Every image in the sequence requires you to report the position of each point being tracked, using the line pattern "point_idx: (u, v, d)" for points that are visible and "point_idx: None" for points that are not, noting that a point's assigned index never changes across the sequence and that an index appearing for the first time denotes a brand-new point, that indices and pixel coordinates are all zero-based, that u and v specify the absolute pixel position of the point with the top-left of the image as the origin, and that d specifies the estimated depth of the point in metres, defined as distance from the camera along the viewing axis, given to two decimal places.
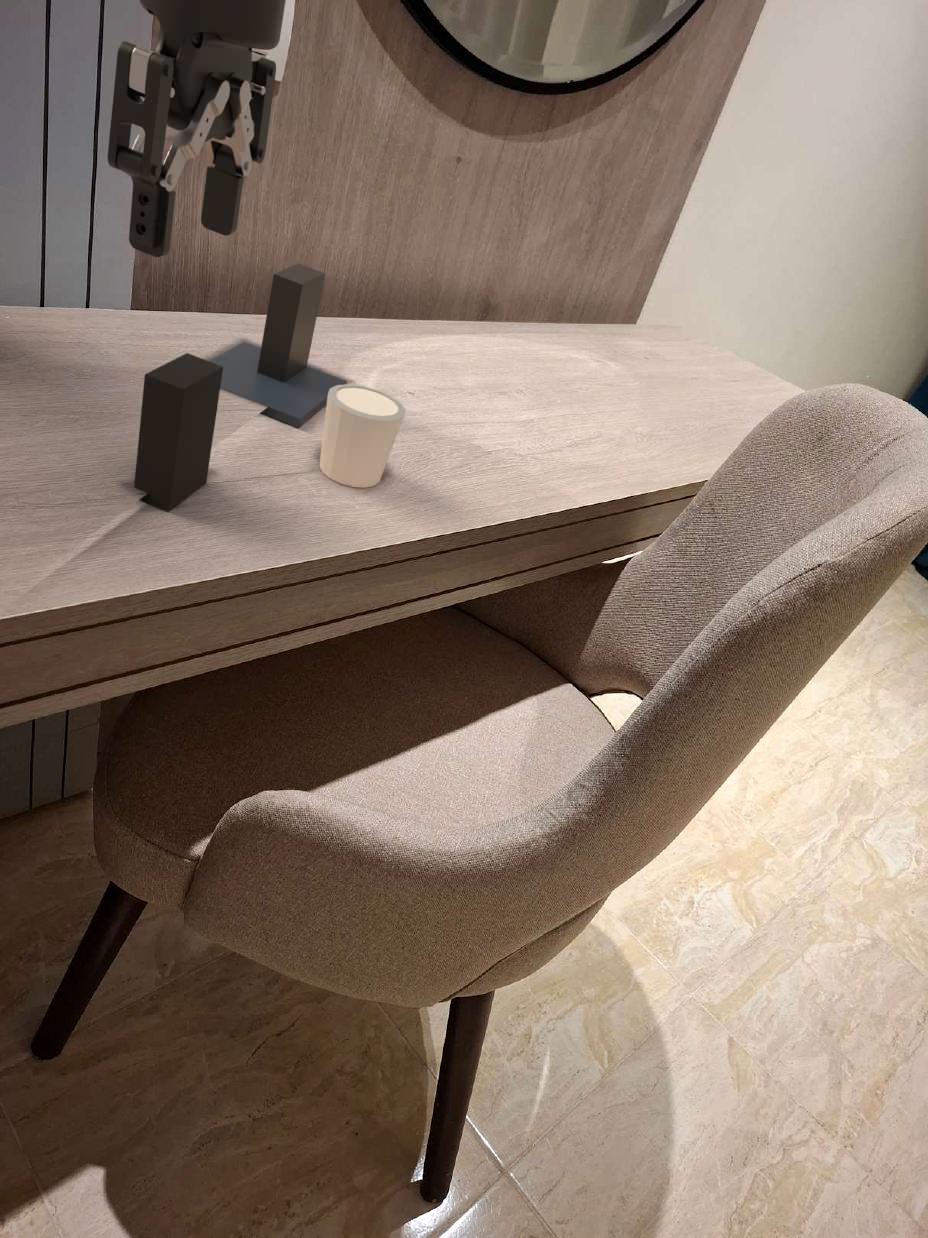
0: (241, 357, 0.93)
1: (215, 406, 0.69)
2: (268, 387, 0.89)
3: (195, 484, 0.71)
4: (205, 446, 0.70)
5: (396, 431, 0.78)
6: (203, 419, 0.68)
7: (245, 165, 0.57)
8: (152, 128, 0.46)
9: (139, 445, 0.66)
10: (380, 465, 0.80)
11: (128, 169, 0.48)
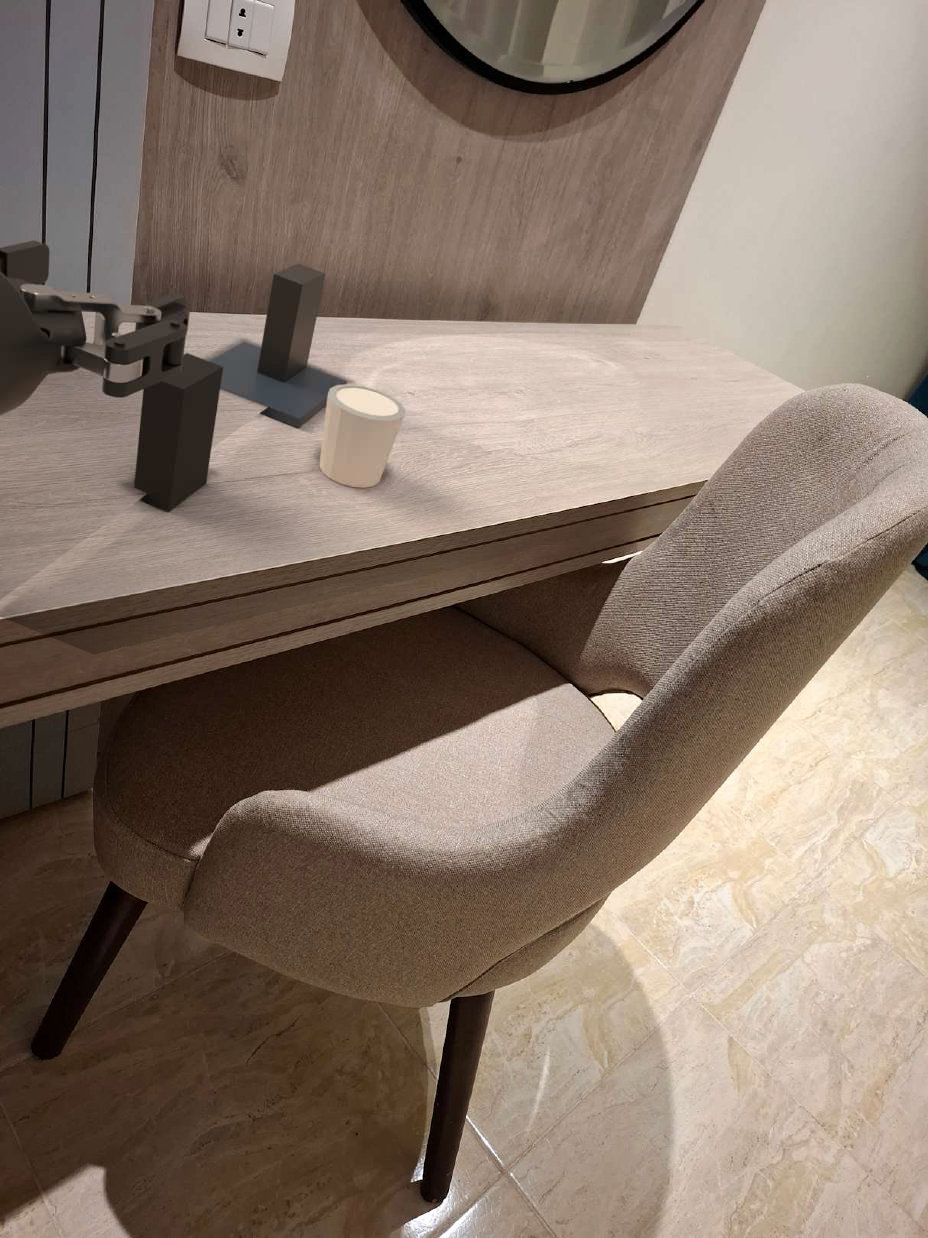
0: (241, 357, 0.93)
1: (215, 406, 0.69)
2: (268, 387, 0.89)
3: (195, 484, 0.71)
4: (205, 446, 0.70)
5: (396, 431, 0.78)
6: (203, 419, 0.68)
7: None
8: None
9: (139, 445, 0.66)
10: (380, 465, 0.80)
11: None
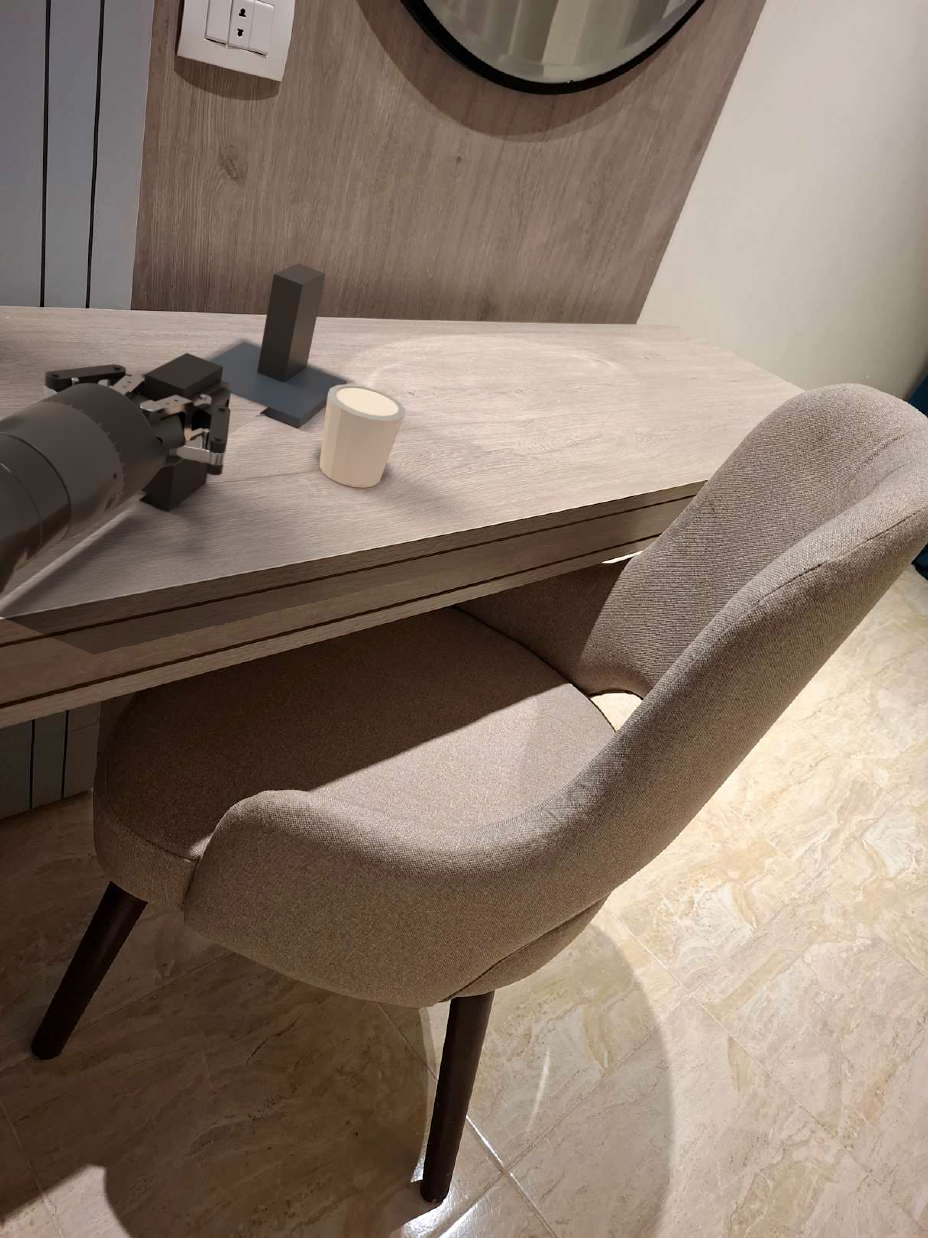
0: (241, 357, 0.93)
1: None
2: (268, 387, 0.89)
3: (195, 484, 0.71)
4: None
5: (396, 431, 0.78)
6: None
7: None
8: None
9: None
10: (380, 465, 0.80)
11: None
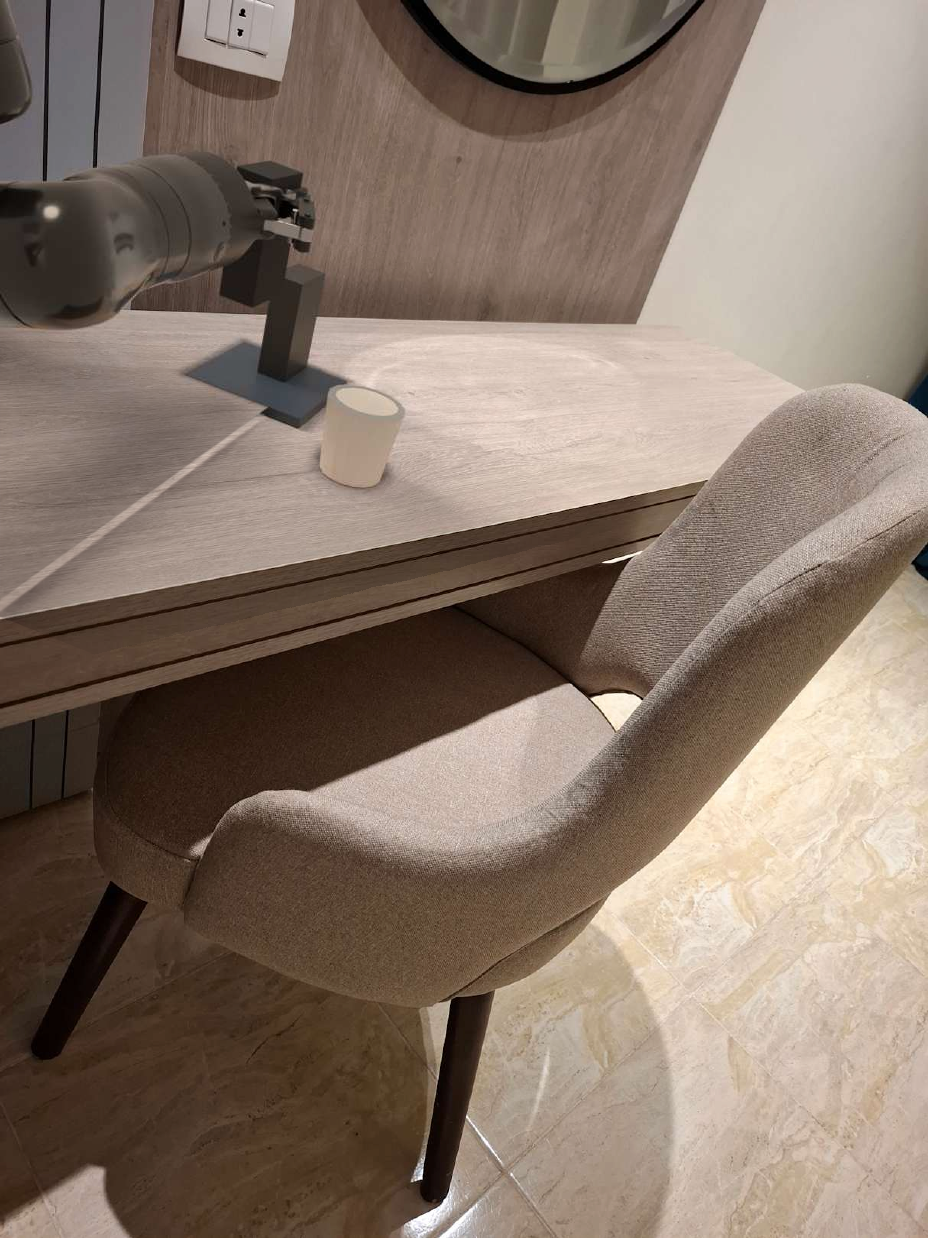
0: (241, 357, 0.93)
1: None
2: (268, 387, 0.89)
3: (274, 290, 0.77)
4: (284, 252, 0.76)
5: (396, 431, 0.78)
6: None
7: None
8: None
9: None
10: (380, 465, 0.80)
11: None
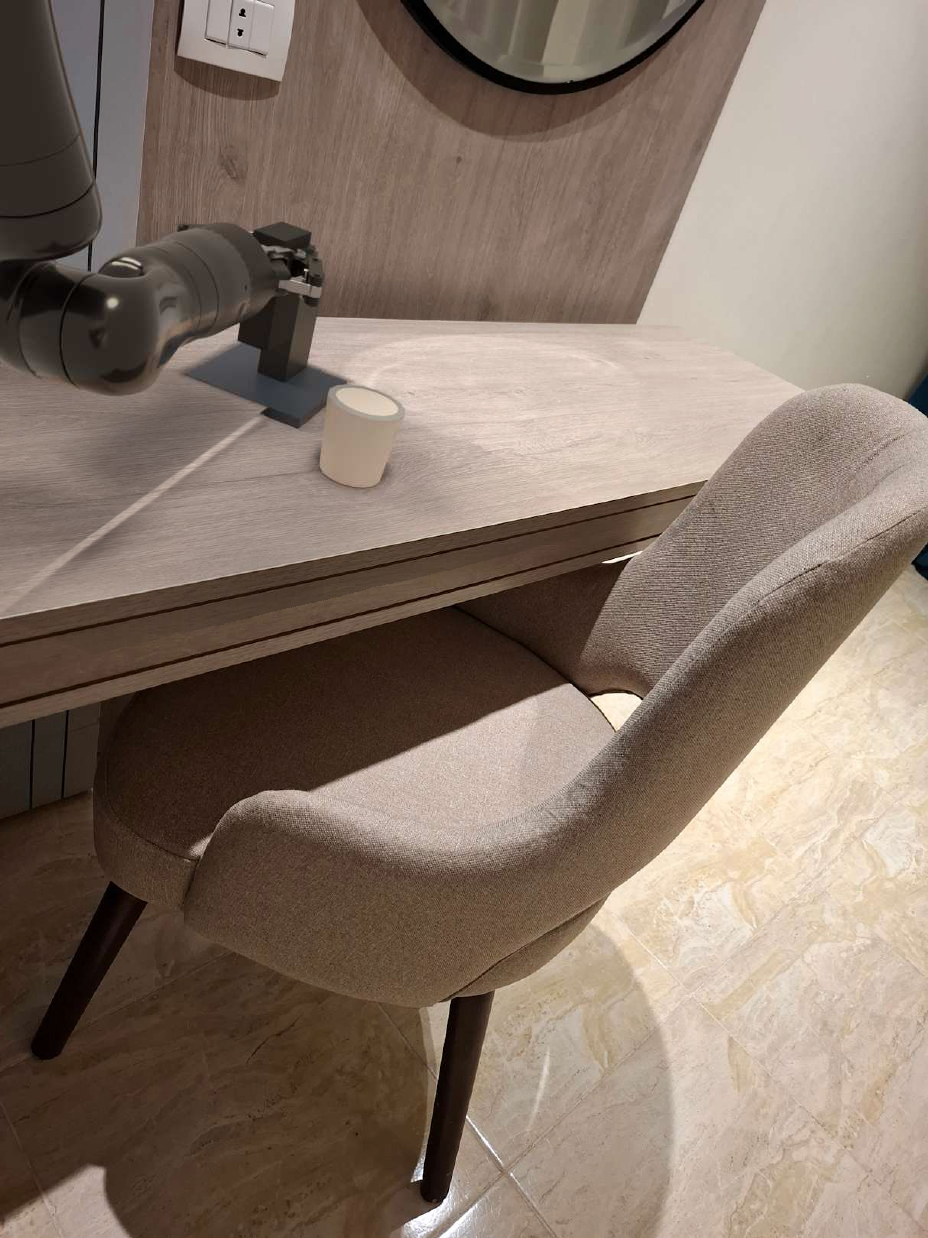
0: (241, 357, 0.93)
1: None
2: (268, 387, 0.89)
3: (285, 334, 0.86)
4: (294, 301, 0.85)
5: (396, 431, 0.78)
6: None
7: None
8: None
9: None
10: (380, 465, 0.80)
11: None
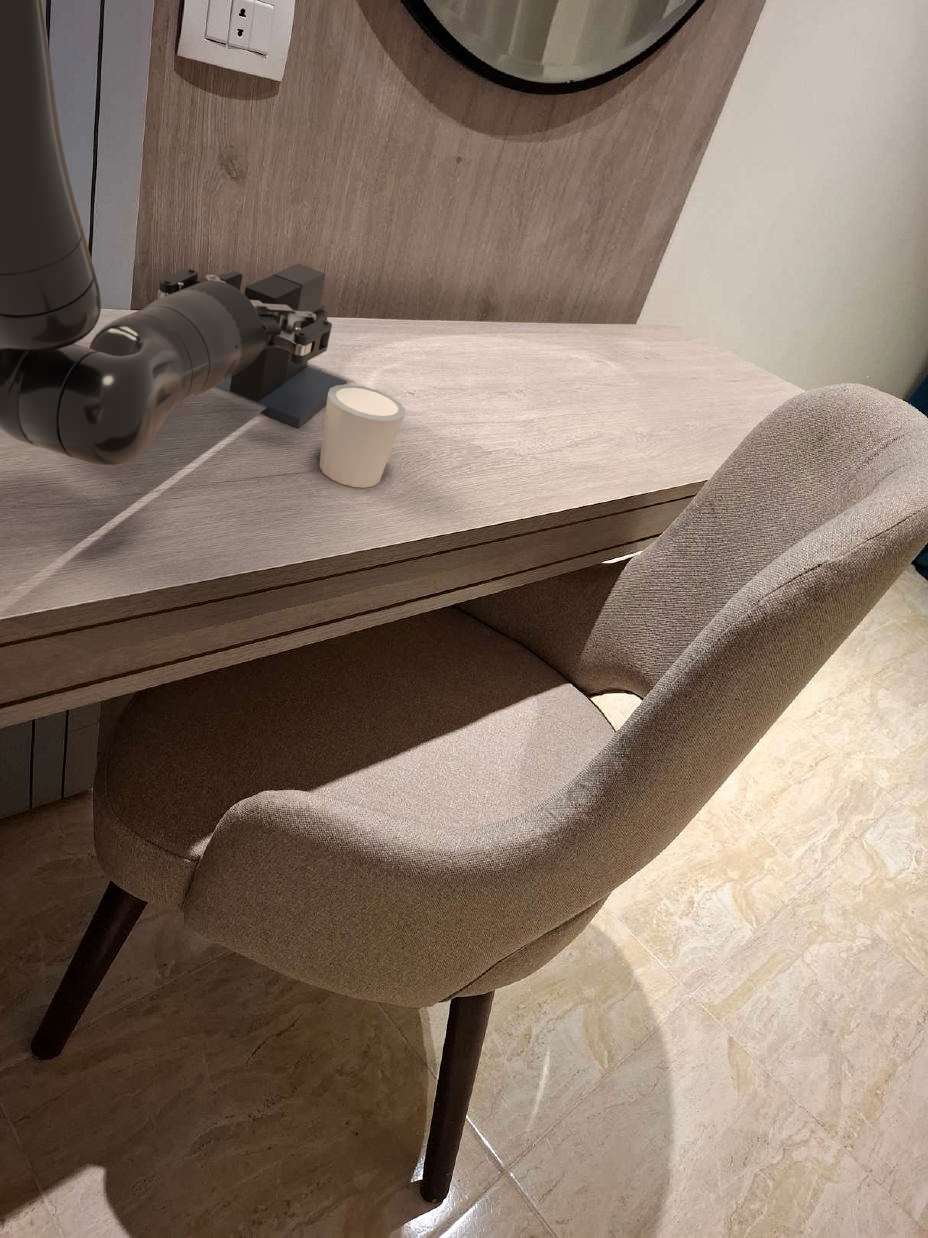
0: None
1: None
2: None
3: (276, 383, 0.89)
4: (285, 351, 0.88)
5: (396, 431, 0.78)
6: None
7: None
8: None
9: None
10: (380, 465, 0.80)
11: None
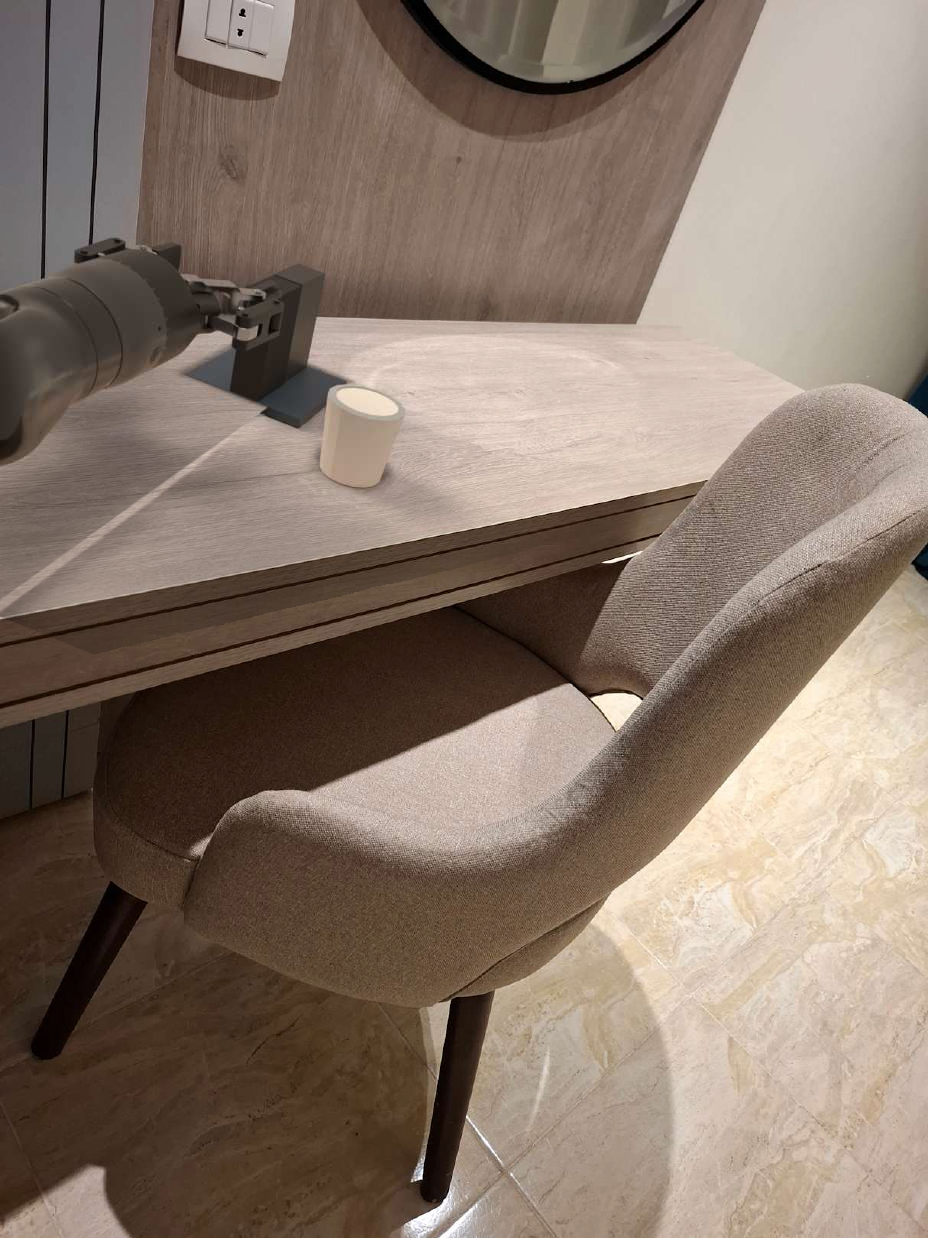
0: None
1: (294, 318, 0.87)
2: None
3: (276, 383, 0.89)
4: (285, 351, 0.88)
5: (396, 431, 0.78)
6: (286, 327, 0.85)
7: None
8: None
9: None
10: (380, 465, 0.80)
11: None
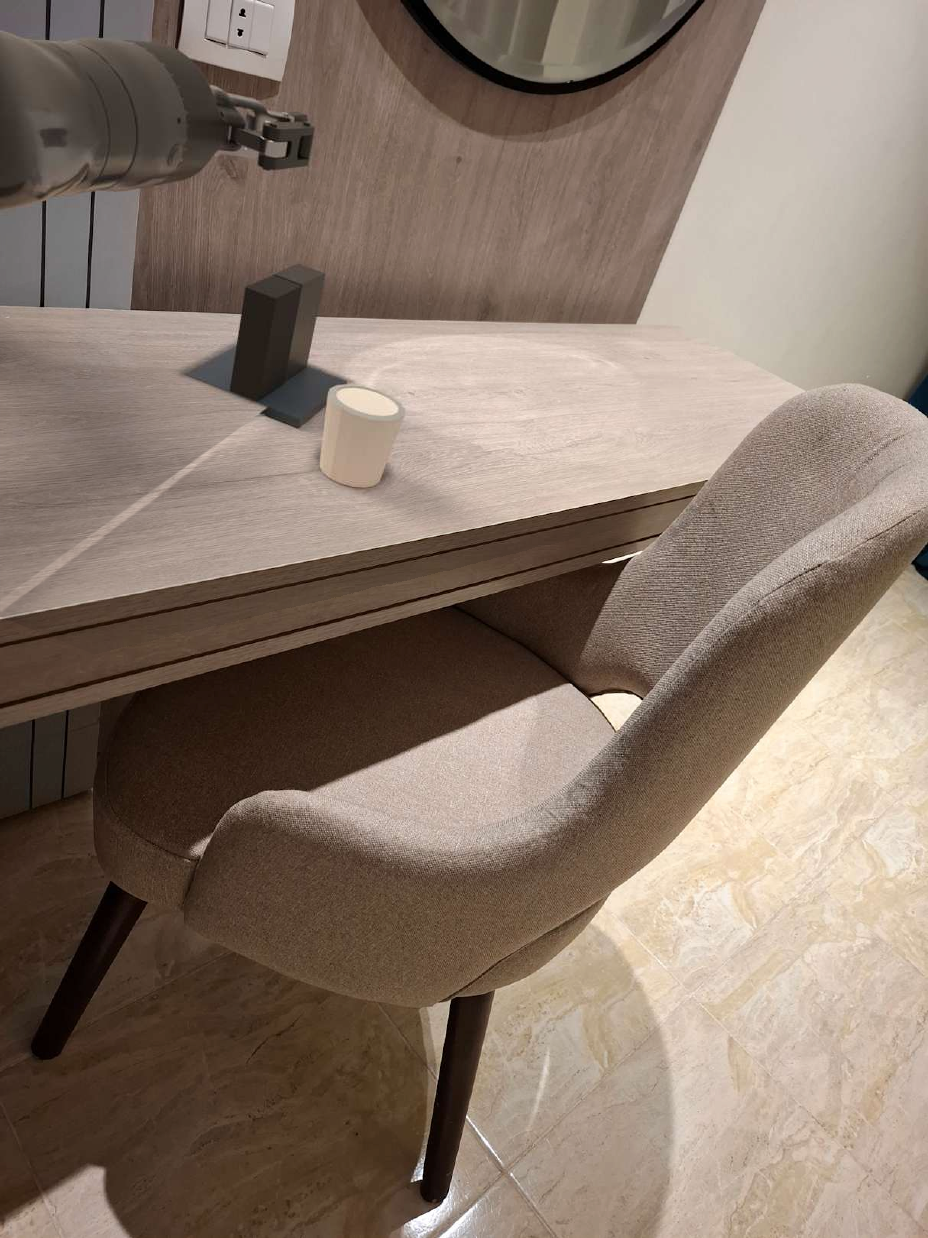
0: None
1: (294, 318, 0.87)
2: None
3: (276, 383, 0.89)
4: (285, 351, 0.88)
5: (396, 431, 0.78)
6: (286, 327, 0.85)
7: None
8: None
9: (237, 346, 0.83)
10: (380, 465, 0.80)
11: None
